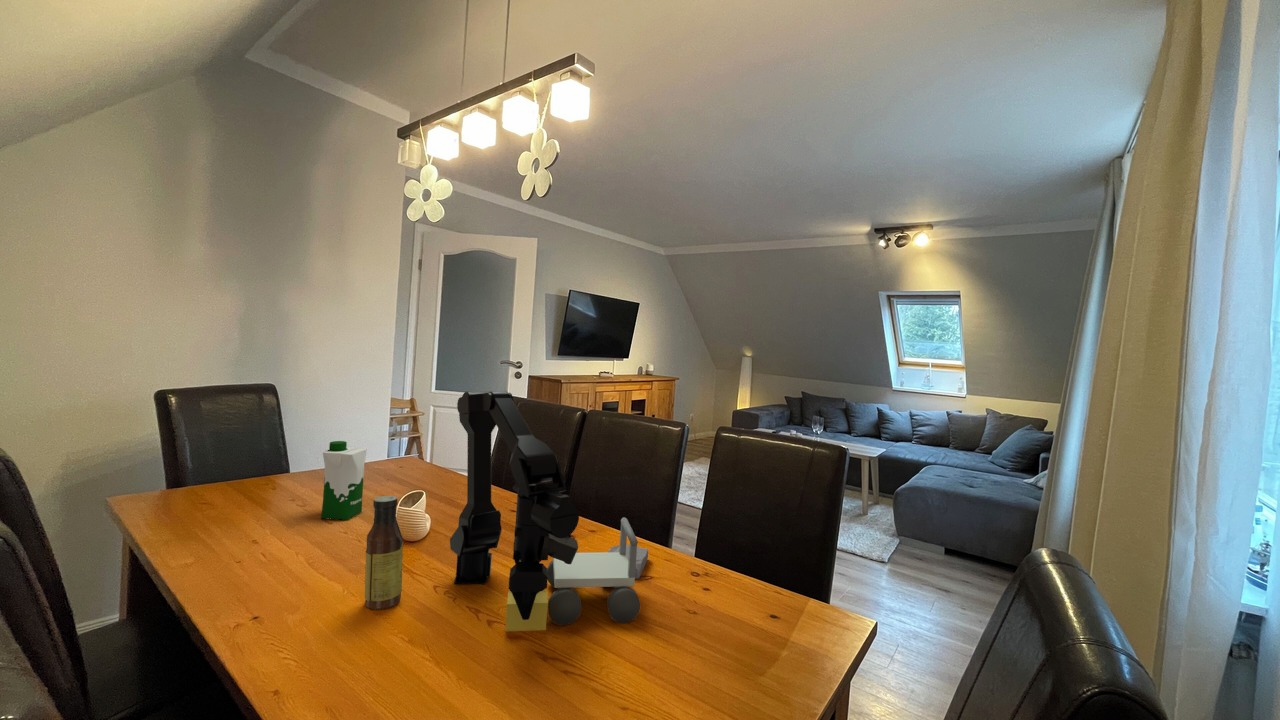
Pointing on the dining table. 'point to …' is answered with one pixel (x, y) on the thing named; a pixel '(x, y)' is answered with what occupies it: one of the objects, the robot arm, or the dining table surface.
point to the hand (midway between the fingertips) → (526, 605)
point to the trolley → (596, 581)
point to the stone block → (640, 558)
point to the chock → (536, 617)
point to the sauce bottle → (384, 556)
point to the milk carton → (343, 481)
